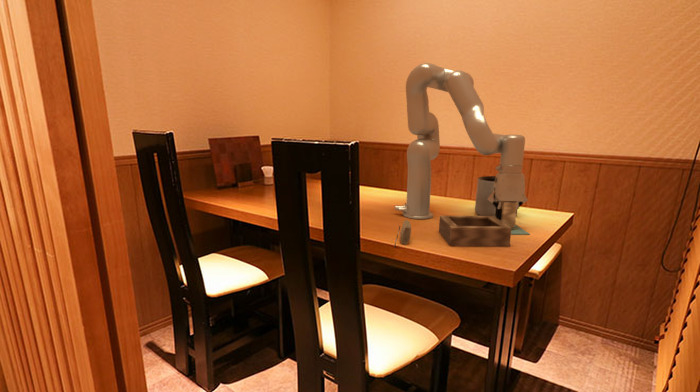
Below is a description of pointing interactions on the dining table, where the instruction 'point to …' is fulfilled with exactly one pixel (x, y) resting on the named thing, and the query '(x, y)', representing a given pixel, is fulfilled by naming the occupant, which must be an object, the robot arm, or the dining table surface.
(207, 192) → the dining table surface
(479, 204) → the planter
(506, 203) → the beech block
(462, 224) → the box
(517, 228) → the mat
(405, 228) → the cuneiform tablet
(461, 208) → the dining table surface
